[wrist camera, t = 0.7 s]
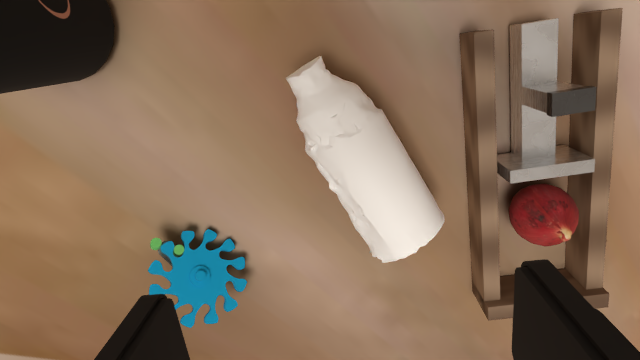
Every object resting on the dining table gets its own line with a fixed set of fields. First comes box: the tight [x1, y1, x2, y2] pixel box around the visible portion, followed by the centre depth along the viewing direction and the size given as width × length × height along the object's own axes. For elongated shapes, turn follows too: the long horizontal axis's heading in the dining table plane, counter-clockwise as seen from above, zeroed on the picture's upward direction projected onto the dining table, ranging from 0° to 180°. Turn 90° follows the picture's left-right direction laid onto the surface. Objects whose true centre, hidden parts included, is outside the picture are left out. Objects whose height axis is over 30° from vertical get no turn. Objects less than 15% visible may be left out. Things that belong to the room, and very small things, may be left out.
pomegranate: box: [509, 184, 579, 246], centre depth 39 cm, size 6×6×8 cm
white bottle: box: [286, 56, 445, 263], centre depth 37 cm, size 8×19×8 cm, turn 32°
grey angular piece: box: [497, 18, 596, 184], centre depth 35 cm, size 13×7×8 cm, turn 9°
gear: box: [148, 229, 247, 328], centre depth 44 cm, size 11×6×10 cm
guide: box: [460, 8, 622, 321], centre depth 39 cm, size 28×12×5 cm, turn 9°
